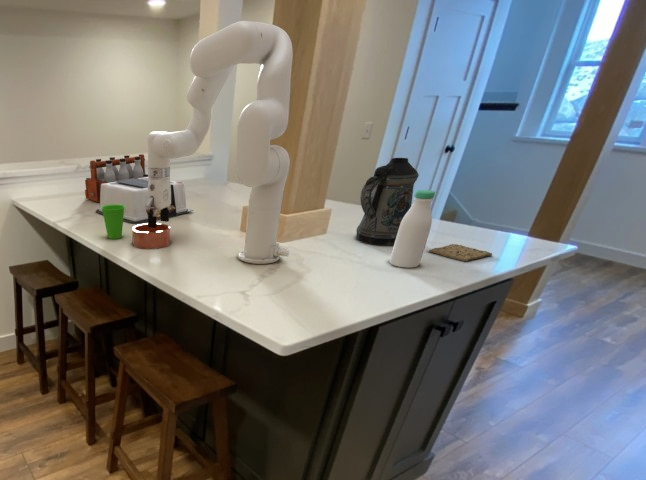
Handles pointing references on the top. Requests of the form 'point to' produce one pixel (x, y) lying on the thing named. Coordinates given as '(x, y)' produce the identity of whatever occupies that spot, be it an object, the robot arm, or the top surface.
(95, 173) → the milk bottle holder
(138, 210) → the cake box
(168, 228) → the bowl
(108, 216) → the cup
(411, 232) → the milk bottle
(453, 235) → the top surface
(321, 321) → the top surface
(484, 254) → the cookie
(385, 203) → the beer stein
